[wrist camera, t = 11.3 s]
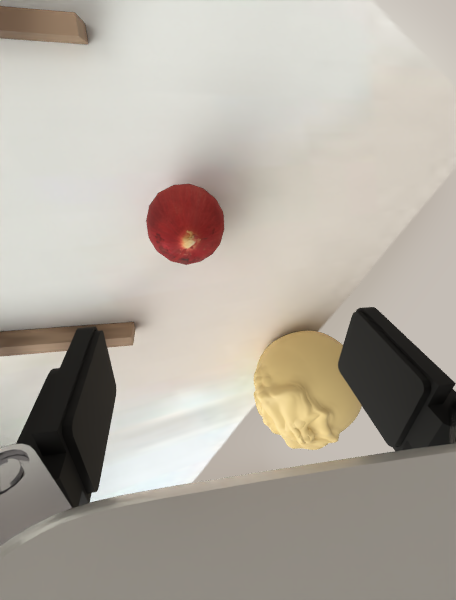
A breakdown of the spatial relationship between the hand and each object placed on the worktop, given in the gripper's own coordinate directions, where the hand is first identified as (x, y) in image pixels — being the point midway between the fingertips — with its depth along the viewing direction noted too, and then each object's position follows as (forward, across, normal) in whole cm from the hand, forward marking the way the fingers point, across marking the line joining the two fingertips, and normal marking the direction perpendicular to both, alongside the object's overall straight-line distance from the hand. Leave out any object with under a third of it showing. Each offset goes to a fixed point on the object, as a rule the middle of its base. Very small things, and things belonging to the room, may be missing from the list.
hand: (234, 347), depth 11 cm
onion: (+18, +1, 0) cm, 18 cm away
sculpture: (+18, -11, +18) cm, 28 cm away
